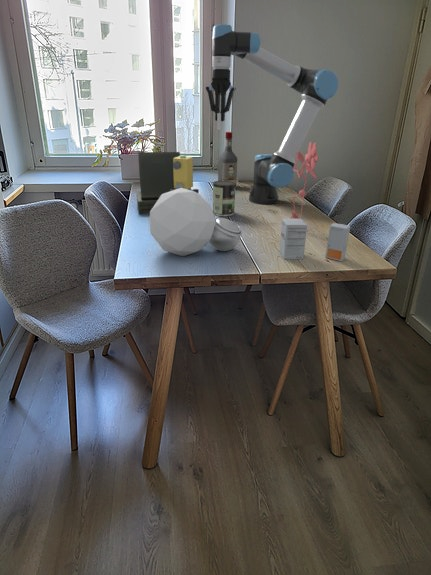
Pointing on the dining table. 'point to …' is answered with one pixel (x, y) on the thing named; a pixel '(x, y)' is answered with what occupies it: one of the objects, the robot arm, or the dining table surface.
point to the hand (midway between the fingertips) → (219, 129)
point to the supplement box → (293, 238)
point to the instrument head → (183, 171)
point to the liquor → (227, 162)
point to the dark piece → (154, 178)
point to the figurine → (310, 167)
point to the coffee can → (223, 198)
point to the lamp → (190, 224)
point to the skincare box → (337, 241)
